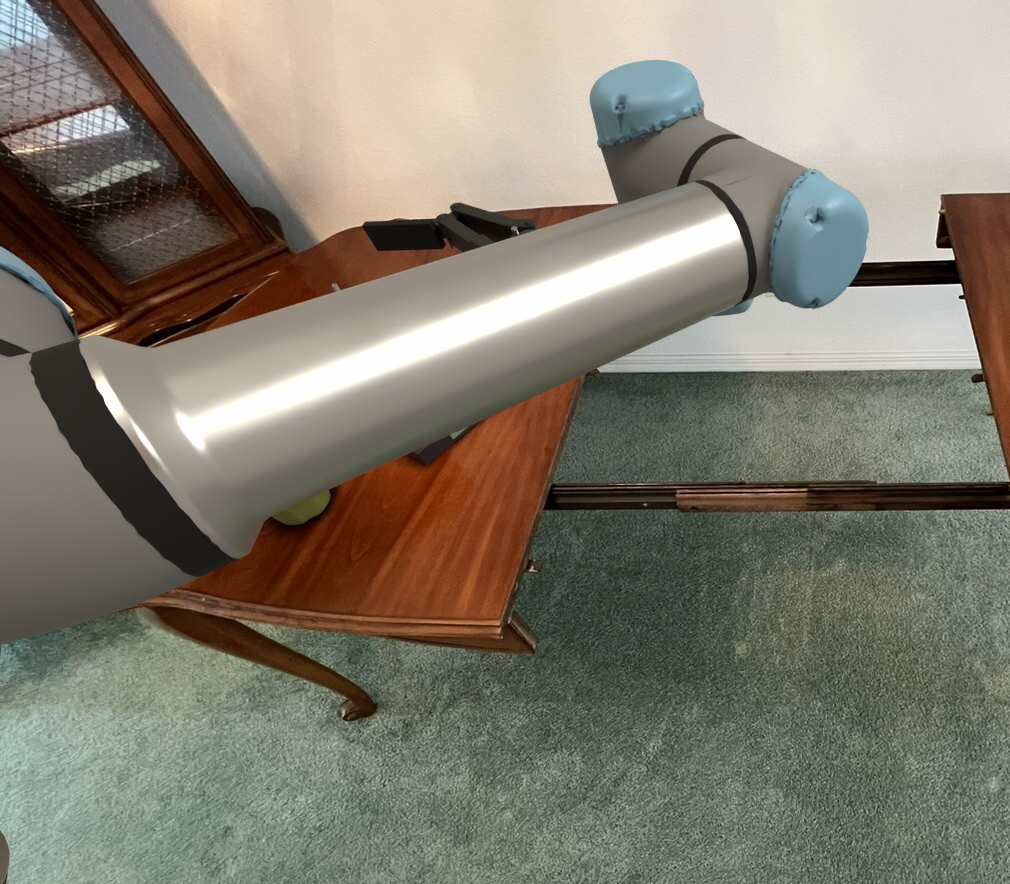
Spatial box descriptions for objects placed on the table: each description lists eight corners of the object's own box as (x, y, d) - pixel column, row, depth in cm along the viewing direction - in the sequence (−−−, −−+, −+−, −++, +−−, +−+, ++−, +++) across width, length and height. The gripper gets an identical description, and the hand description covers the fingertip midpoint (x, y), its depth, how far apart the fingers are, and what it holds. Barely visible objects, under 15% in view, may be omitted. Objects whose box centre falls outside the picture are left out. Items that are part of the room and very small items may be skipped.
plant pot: (323, 537, 80) (275, 496, 73) (249, 539, 81) (194, 498, 74) (357, 474, 86) (315, 431, 79) (288, 476, 87) (240, 433, 80)
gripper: (548, 413, 52) (290, 416, 53) (616, 229, 68) (415, 236, 69) (509, 340, 46) (222, 346, 48) (593, 158, 62) (376, 167, 63)
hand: (336, 281), depth 58 cm, fingers open, 13 cm apart
